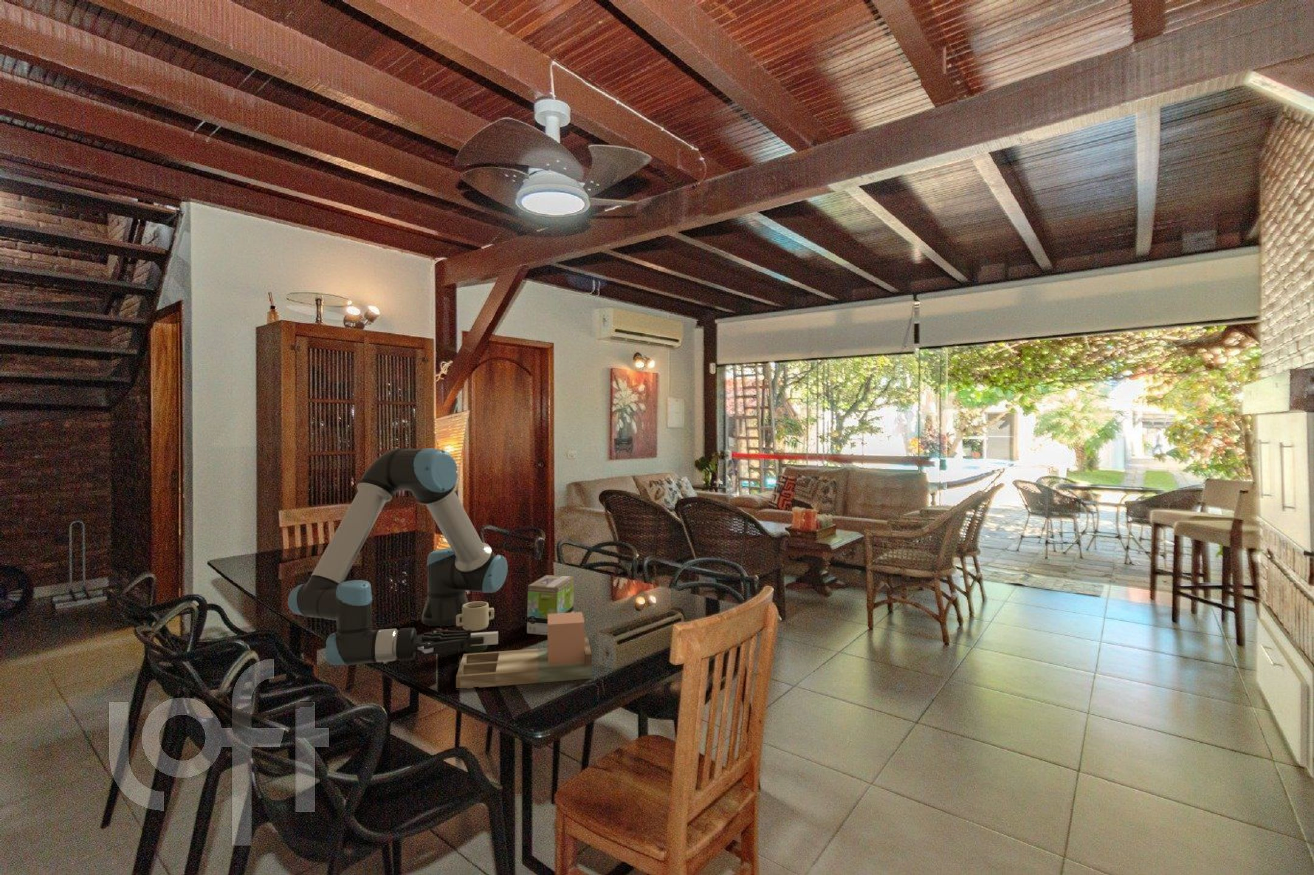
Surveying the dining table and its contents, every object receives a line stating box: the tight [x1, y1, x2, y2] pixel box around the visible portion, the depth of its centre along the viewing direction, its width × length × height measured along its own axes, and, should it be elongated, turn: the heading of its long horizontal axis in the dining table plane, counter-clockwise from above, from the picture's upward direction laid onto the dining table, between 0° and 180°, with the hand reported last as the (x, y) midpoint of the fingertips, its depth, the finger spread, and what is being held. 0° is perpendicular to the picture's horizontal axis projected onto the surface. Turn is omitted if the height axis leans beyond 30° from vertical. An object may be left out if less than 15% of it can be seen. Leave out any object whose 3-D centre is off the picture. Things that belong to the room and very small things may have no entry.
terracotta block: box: [547, 611, 586, 665], centre depth 155 cm, size 9×9×10 cm
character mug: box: [455, 600, 495, 654], centre depth 168 cm, size 11×7×13 cm, turn 129°
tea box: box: [526, 574, 575, 636], centre depth 189 cm, size 15×10×15 cm
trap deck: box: [455, 633, 593, 689], centre depth 153 cm, size 15×32×6 cm, turn 101°
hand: (497, 637), depth 152 cm, fingers closed
